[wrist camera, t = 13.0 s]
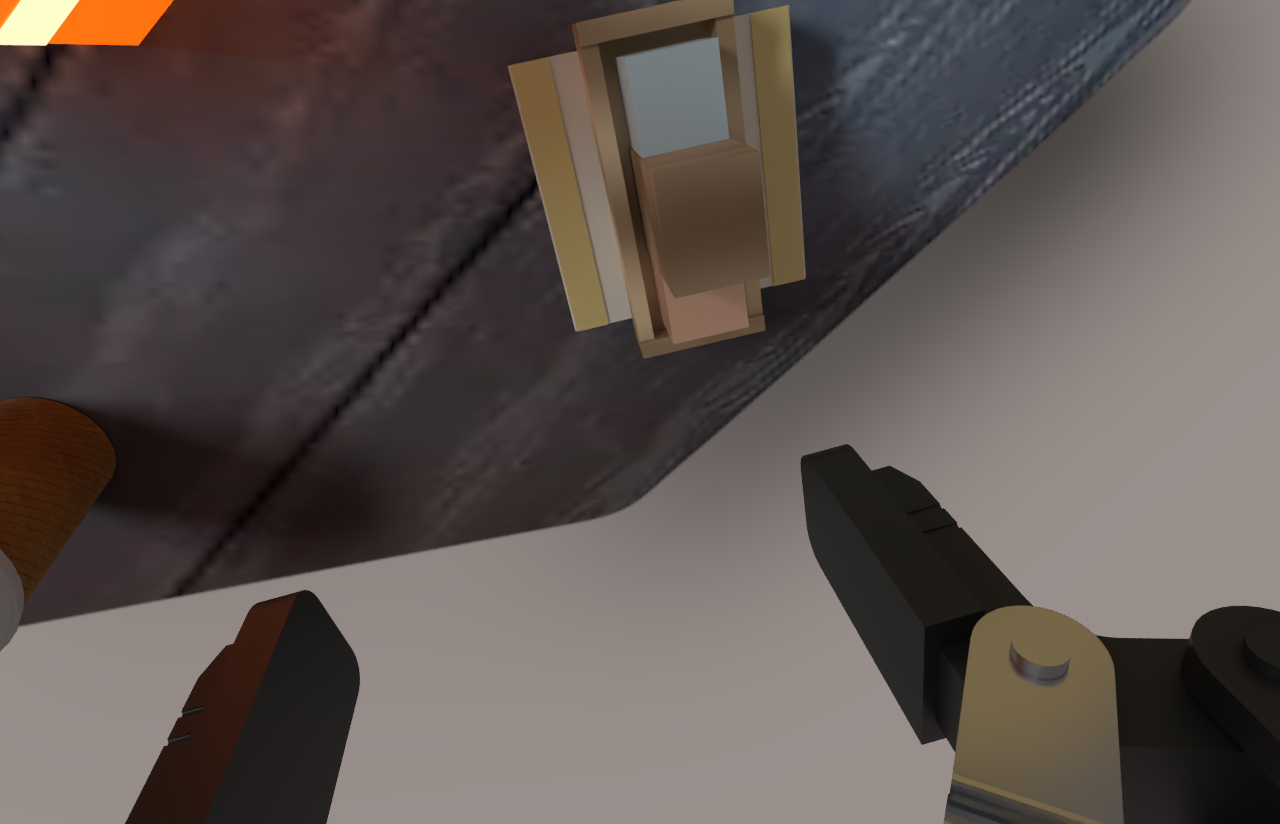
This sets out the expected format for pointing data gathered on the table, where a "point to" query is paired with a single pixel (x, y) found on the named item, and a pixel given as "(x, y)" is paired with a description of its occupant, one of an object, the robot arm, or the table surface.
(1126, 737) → the robot arm
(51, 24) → the orange juice
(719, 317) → the block
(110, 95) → the table surface
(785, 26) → the strip
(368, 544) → the table surface
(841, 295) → the table surface
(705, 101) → the block
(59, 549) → the disposable coffee cup
